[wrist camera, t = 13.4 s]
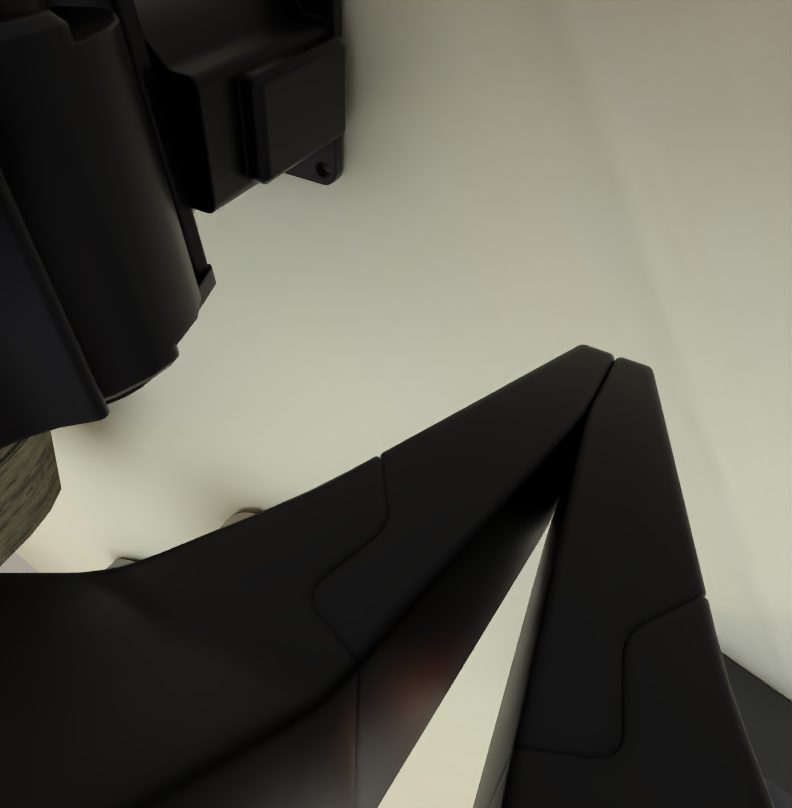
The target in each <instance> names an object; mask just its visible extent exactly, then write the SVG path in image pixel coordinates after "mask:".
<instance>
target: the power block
mask: <svg viewBox="0 0 792 808" xmlns="http://www.w3.org/2000/svg"><path fill="white" fill-rule="evenodd" d="M722 657H723V661H724V664H725V668H726V671H727V675H728V679H729V682H730V686H731V689H732V692H733V694H734V697H735V700H736V703H737V706H738V709H739V712H740V714H741V717H742V720H743V723H744V726H745V729H746V732H747V735H748V737H749V740H750V743H751V746H752V749H753V751H754V754H755V757H756V759H757V762H758V765H759V767H760V770H761V772H762V775H763V778H764V780H765V783H766V786H767V788H768V791H769V794H770V796H771V799H772V802H773V804H774V807H775V808H792V703H791V702H790V701H788V700H787V699H786V698H784V697H783V696H781V695H780V694H778V693H777V692H775V691H774V690H773V689H771V688H770V687H768V686H767V685H765V684H764V683H763V682H761V681H760V680H758V679H757V678H755V677H754V676H753V675H751V674H750V673H748V672H747V671H745V670H744V669H743V668H741V667H740V666H738V665H737V664H735V663H734V662H732V661H731V660H730V659H728V658H727V657H725V656H724V655H722Z"/></svg>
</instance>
